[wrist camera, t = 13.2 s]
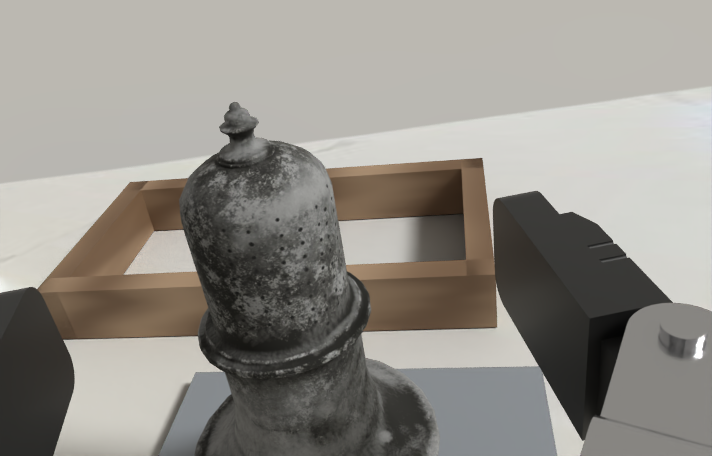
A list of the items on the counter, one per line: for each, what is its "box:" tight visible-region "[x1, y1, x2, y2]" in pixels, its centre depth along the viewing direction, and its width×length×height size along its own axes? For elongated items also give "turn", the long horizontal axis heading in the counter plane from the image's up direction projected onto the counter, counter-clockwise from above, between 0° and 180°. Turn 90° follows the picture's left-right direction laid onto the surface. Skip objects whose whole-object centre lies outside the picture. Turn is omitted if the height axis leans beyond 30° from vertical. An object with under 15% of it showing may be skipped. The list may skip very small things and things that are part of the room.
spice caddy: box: [37, 158, 497, 339], centre depth 29 cm, size 18×10×2 cm, turn 84°
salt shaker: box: [179, 102, 440, 456], centre depth 14 cm, size 6×6×12 cm
